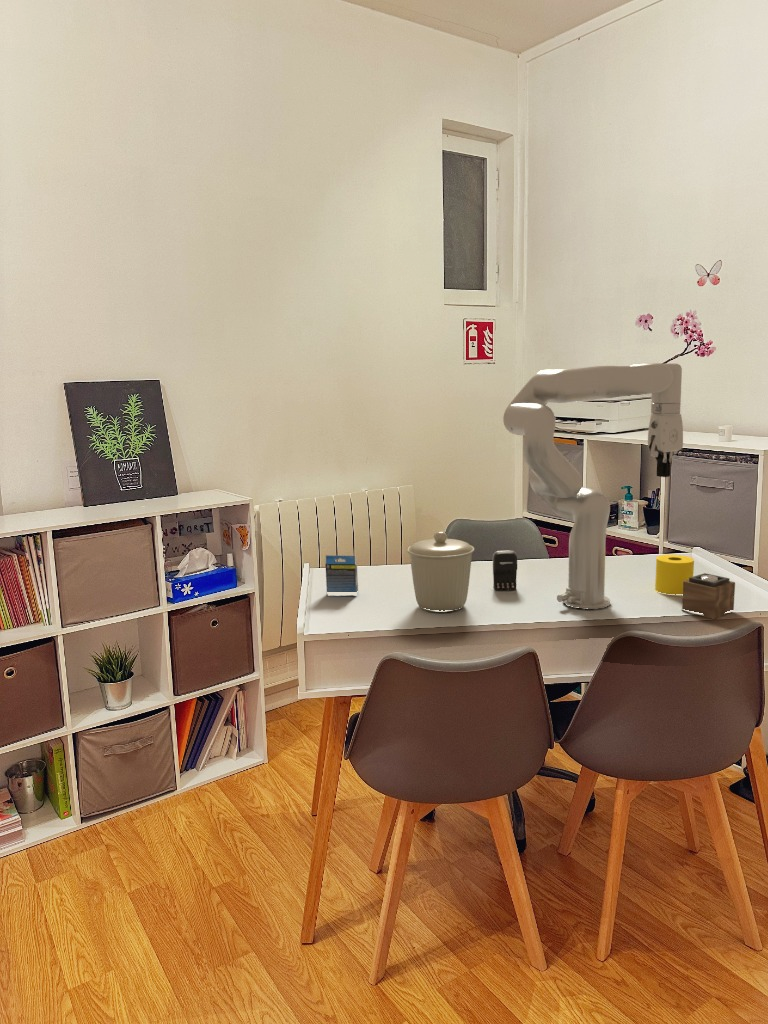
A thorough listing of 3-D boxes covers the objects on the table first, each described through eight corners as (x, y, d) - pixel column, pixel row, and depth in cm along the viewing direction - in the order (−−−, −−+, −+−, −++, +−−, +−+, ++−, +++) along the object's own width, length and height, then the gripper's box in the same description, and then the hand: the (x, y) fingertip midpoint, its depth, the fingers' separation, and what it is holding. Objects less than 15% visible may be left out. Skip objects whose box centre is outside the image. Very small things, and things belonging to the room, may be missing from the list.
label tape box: (358, 593, 233) (357, 552, 231) (356, 597, 229) (355, 555, 227) (329, 593, 234) (327, 552, 232) (326, 596, 230) (324, 555, 228)
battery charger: (494, 592, 231) (493, 553, 229) (492, 588, 234) (492, 550, 232) (518, 591, 231) (518, 552, 228) (516, 587, 234) (516, 549, 232)
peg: (710, 610, 204) (711, 579, 203) (696, 606, 208) (697, 576, 206) (719, 607, 207) (720, 577, 205) (705, 603, 210) (706, 574, 209)
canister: (483, 601, 221) (483, 527, 218) (460, 620, 205) (460, 541, 202) (424, 595, 229) (422, 523, 225) (397, 613, 213) (395, 536, 210)
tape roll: (696, 596, 221) (697, 563, 219) (658, 595, 223) (659, 562, 221) (688, 586, 231) (689, 554, 229) (652, 585, 232) (653, 554, 231)
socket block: (713, 619, 201) (715, 584, 200) (682, 611, 208) (683, 577, 207) (733, 612, 206) (735, 578, 205) (702, 604, 214) (703, 571, 212)
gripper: (660, 411, 210) (658, 480, 213) (694, 408, 218) (691, 475, 221) (636, 410, 216) (634, 477, 219) (670, 407, 224) (667, 472, 227)
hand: (663, 476), depth 220 cm, fingers closed
